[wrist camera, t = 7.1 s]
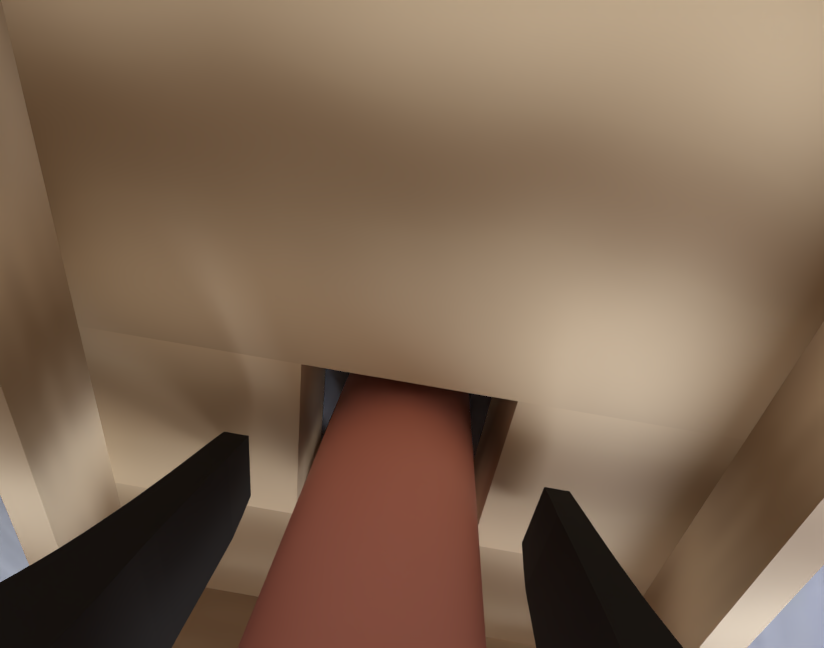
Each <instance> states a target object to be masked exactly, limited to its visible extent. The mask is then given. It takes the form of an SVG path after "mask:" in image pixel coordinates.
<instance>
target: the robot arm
mask: <svg viewBox="0 0 824 648" xmlns="http://www.w3.org/2000/svg"><path fill="white" fill-rule="evenodd" d="M250 497H251V484H250V456H249V436H247V435H241V434H235V433H230V432H223V433H221V434H220V435H218V436H217V437H216V438H214V439H213V440H212V441H210V442H209V443H208V444H206V445H205V446H204V447H202V448H201V449H200V450H199V451H197V452H196V453H195V454H193V455H192V456H191V457H189V458H188V459H187V460H185V461H184V462H183V463H182V464H180V465H179V466H178V467H176V468H175V469H174V470H172V471H171V472H170V473H168V474H167V475H166V476H164V477H163V478H161V479H160V480H159V481H157V482H156V483H155V484H153V485H152V486H150V487H149V488H148V489H146V490H145V491H144V492H142V493H141V494H139V495H138V496H137V497H135V498H134V499H132V500H131V501H130V502H128V503H127V504H125V505H124V506H122V507H121V508H119V509H118V510H116V511H115V512H113V513H112V514H110V515H109V516H107V517H106V518H104V519H103V520H102V521H100V522H99V523H97V524H96V525H94V526H93V527H91V528H90V529H88V530H87V531H85V532H84V533H82V534H80V535H79V536H77V537H76V538H74V539H73V540H71V541H69V542H68V543H66V544H65V545H63V546H61V547H60V548H58V549H57V550H55V551H53V552H52V553H50V554H48V555H47V556H45V557H43V558H42V559H40V560H38V561H37V562H35V563H33V564H32V565H30V566H28V567H27V568H25V569H23V570H21V571H20V572H18V573H16V574H14V575H13V576H11V577H9V578H7V579H5V580H4V581H2V582H0V648H172V647H173V645H174V643H175V641H176V639H177V637H178V635H179V634H180V632H181V630H182V628H183V627H184V625H185V623H186V621H187V619H188V618H189V616H190V614H191V612H192V611H193V609H194V607H195V605H196V603H197V602H198V600H199V598H200V596H201V595H202V593H203V591H204V589H205V587H206V586H207V584H208V582H209V580H210V579H211V577H212V575H213V573H214V571H215V570H216V568H217V566H218V564H219V562H220V561H221V559H222V557H223V555H224V553H225V552H226V550H227V548H228V546H229V544H230V543H231V541H232V539H233V537H234V535H235V532H236V530H237V528H238V525H239V523H240V521H241V519H242V516H243V514H244V511H245V509H246V506H247V504H248V502H249V499H250ZM522 554H523V569H524V580H525V590H526V596H527V602H528V607H529V612H530V618H531V623H532V629H533V634H534V639H535V644H536V648H683V647H682V645H681V644H680V643H679V642H678V641H677V639H676V638H675V637H674V635H673V634H672V633H671V632H670V630H669V629H668V628H667V627H666V625H665V624H664V623H663V621H662V620H661V619H660V618H659V616H658V615H657V614H656V613H655V611H654V610H653V609H652V607H651V606H650V605H649V603H648V602H647V601H646V600H645V598H644V597H643V596H642V594H641V593H640V592H639V590H638V589H637V587H636V586H635V585H634V583H633V582H632V580H631V579H630V578H629V576H628V575H627V574H626V572H625V571H624V569H623V568H622V567H621V565H620V564H619V562H618V561H617V560H616V558H615V557H614V555H613V554H612V552H611V551H610V550H609V548H608V547H607V545H606V544H605V542H604V541H603V539H602V538H601V537H600V535H599V534H598V532H597V531H596V529H595V528H594V526H593V525H592V523H591V522H590V520H589V519H588V517H587V516H586V514H585V513H584V512H583V510H582V509H581V507H580V506H579V504H578V503H577V501H576V500H575V498H574V497H573V495H572V494H571V493H570V491H565V490H560V489H554V488H548V487H544V489H543V491H542V494H541V496H540V499H539V501H538V504H537V506H536V509H535V511H534V514H533V516H532V519H531V521H530V524H529V526H528V529H527V531H526V534H525V536H524V539H523V541H522Z"/></svg>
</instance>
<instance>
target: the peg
mask: <svg viewBox="0 0 824 648" xmlns="http://www.w3.org/2000/svg"><path fill="white" fill-rule="evenodd" d="M238 648H486V637H485V622H484V607H483V592H482V577H481V563H480V548H479V533H478V518H477V503H476V488H475V474H474V459H473V444H472V429H471V414H470V399H469V393H467V392H461V391H455V390H449V389H443V388H437V387H432V386H426V385H420V384H414V383H408V382H402V381H396V380H391V379H385V378H379V377H373V376H367V375H361V374H355V373H350V374H349V376H348V378H347V380H346V382H345V385H344V387H343V390H342V392H341V395H340V397H339V400H338V402H337V404H336V407H335V409H334V412H333V414H332V417H331V419H330V422H329V424H328V427H327V429H326V432H325V434H324V436H323V439H322V441H321V444H320V446H319V449H318V451H317V454H316V456H315V459H314V461H313V464H312V466H311V469H310V471H309V473H308V476H307V478H306V481H305V483H304V486H303V488H302V491H301V493H300V496H299V498H298V501H297V503H296V505H295V508H294V510H293V513H292V515H291V518H290V520H289V523H288V525H287V528H286V530H285V533H284V535H283V537H282V540H281V542H280V545H279V547H278V550H277V552H276V555H275V557H274V560H273V562H272V565H271V567H270V569H269V572H268V574H267V577H266V579H265V582H264V584H263V587H262V589H261V592H260V594H259V597H258V599H257V601H256V604H255V606H254V609H253V611H252V614H251V616H250V619H249V621H248V624H247V626H246V629H245V631H244V633H243V636H242V638H241V641H240V643H239V646H238Z"/></svg>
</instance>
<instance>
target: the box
mask: <svg viewBox="0 0 824 648" xmlns="http://www.w3.org/2000/svg"><path fill="white" fill-rule="evenodd" d="M326 369H332V370H338V371H344V372H350V373H355V374H361V375H367V376H373V377H379V378H385V379H391V380H396V381H402V382H408V383H414V384H420V385H426V386H432V387H437V388H443V389H449V390H455V391H461V392H467V393H472V394H478V395H484V396H490V397H492V398H491V401H490V405H489V408H488V412H487V415H486V419H485V422H484V426H483V429H482V433H481V436H480V440H479V443H478V447H477V450H476V454H475V457H474V474H475V488H476V503H477V518H478V533H479V548H480V563H481V577H482V592H483V607H484V622H485V637H486V648H536V644H535V639H534V634H533V629H532V623H531V618H530V612H529V607H528V602H527V596H526V590H525V580H524V569H523V554H522V541H523V539H524V536H525V534H526V531H527V529H528V526H529V524H530V521H531V519H532V516H533V514H534V511H535V509H536V506H537V504H538V501H539V499H540V496H541V494H542V491H543V489H544V487H548V488H554V489H560V490H565V491H570V493H571V494H572V495H573V497H574V498H575V500H576V501H577V503H578V504H579V506H580V507H581V509H582V510H583V512H584V513H585V514H586V516H587V517H588V519H589V520H590V522H591V523H592V525H593V526H594V528H595V529H596V531H597V532H598V534H599V535H600V537H601V538H602V539H603V541H604V542H605V544H606V545H607V547H608V548H609V550H610V551H611V552H612V554H613V555H614V557H615V558H616V560H617V561H618V562H619V564H620V565H621V567H622V568H623V569H624V571H625V572H626V574H627V575H628V576H629V578H630V579H631V580H632V582H633V583H634V585H635V586H636V587H637V589H638V590H639V592H640V593H641V594H642V596H643V597H644V598H645V600H646V601H647V602H648V603H649V605H650V606H651V607H652V609H653V610H654V611H655V613H656V614H657V615H658V616H659V618H660V619H661V620H662V621H663V623H664V624H665V625H666V627H667V628H668V629H669V630H670V632H671V633H672V634H673V635H674V637H675V638H676V639H677V641H678V642H679V643H680V644H681V645H682V647H683V648H747V647H748V646H749V645H750V644H751V643H752V641H753V640H754V639H755V638H756V637H757V636H758V635H759V634H760V633H761V632H762V631H763V630H764V629H765V627H766V626H767V625H768V624H769V623H770V622H771V621H772V620H773V619H774V618H775V617H776V616H777V615H778V613H779V612H780V611H781V610H782V609H783V608H784V607H785V606H786V605H787V604H788V603H789V602H790V600H791V599H792V598H793V597H794V596H795V595H796V594H797V593H798V592H799V591H800V590H801V589H802V588H803V586H804V585H805V584H806V583H807V582H808V581H809V580H810V579H811V578H812V577H813V576H814V575H815V574H816V572H817V571H818V570H819V569H820V568H821V567H822V566H823V565H824V0H0V495H1V498H2V500H3V502H4V505H5V507H6V510H7V512H8V514H9V517H10V519H11V522H12V524H13V527H14V529H15V531H16V534H17V536H18V539H19V541H20V543H21V546H22V548H23V551H24V553H25V556H26V558H27V560H28V563H29V565H32V564H33V563H35V562H37V561H38V560H40V559H42V558H43V557H45V556H47V555H48V554H50V553H52V552H53V551H55V550H57V549H58V548H60V547H61V546H63V545H65V544H66V543H68V542H69V541H71V540H73V539H74V538H76V537H77V536H79V535H80V534H82V533H84V532H85V531H87V530H88V529H90V528H91V527H93V526H94V525H96V524H97V523H99V522H100V521H102V520H103V519H104V518H106V517H107V516H109V515H110V514H112V513H113V512H115V511H116V510H118V509H119V508H121V507H122V506H124V505H125V504H127V503H128V502H130V501H131V500H132V499H134V498H135V497H137V496H138V495H139V494H141V493H142V492H144V491H145V490H146V489H148V488H149V487H150V486H152V485H153V484H155V483H156V482H157V481H159V480H160V479H161V478H163V477H164V476H166V475H167V474H168V473H170V472H171V471H172V470H174V469H175V468H176V467H178V466H179V465H180V464H182V463H183V462H184V461H185V460H187V459H188V458H189V457H191V456H192V455H193V454H195V453H196V452H197V451H199V450H200V449H201V448H202V447H204V446H205V445H206V444H208V443H209V442H210V441H212V440H213V439H214V438H216V437H217V436H218V435H220V434H221V433H223V432H230V433H235V434H241V435H247V436H249V456H250V484H251V497H250V499H249V502H248V504H247V506H246V509H245V511H244V514H243V516H242V519H241V521H240V523H239V525H238V528H237V530H236V532H235V535H234V537H233V539H232V541H231V543H230V544H229V546H228V548H227V550H226V552H225V553H224V555H223V557H222V559H221V561H220V562H219V564H218V566H217V568H216V570H215V571H214V573H213V575H212V577H211V579H210V580H209V582H208V584H207V586H206V587H205V589H204V591H203V593H202V595H201V596H200V598H199V600H198V602H197V603H196V605H195V607H194V609H193V611H192V612H191V614H190V616H189V618H188V619H187V621H186V623H185V625H184V627H183V628H182V630H181V632H180V634H179V635H178V637H177V639H176V641H175V643H174V645H173V647H172V648H238V646H239V643H240V641H241V638H242V636H243V633H244V631H245V629H246V626H247V624H248V621H249V619H250V616H251V614H252V611H253V609H254V606H255V604H256V601H257V599H258V597H259V594H260V592H261V589H262V587H263V584H264V582H265V579H266V577H267V574H268V572H269V569H270V567H271V565H272V562H273V560H274V557H275V555H276V552H277V550H278V547H279V545H280V542H281V540H282V537H283V535H284V533H285V530H286V528H287V525H288V523H289V520H290V518H291V515H292V513H293V510H294V508H295V505H296V503H297V501H298V498H299V496H300V493H301V491H302V488H303V486H304V483H305V481H306V478H307V476H308V473H309V471H310V469H311V466H312V464H313V461H314V459H315V456H316V454H317V451H318V449H319V446H320V444H321V432H322V416H323V401H324V385H325V370H326Z"/></svg>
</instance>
